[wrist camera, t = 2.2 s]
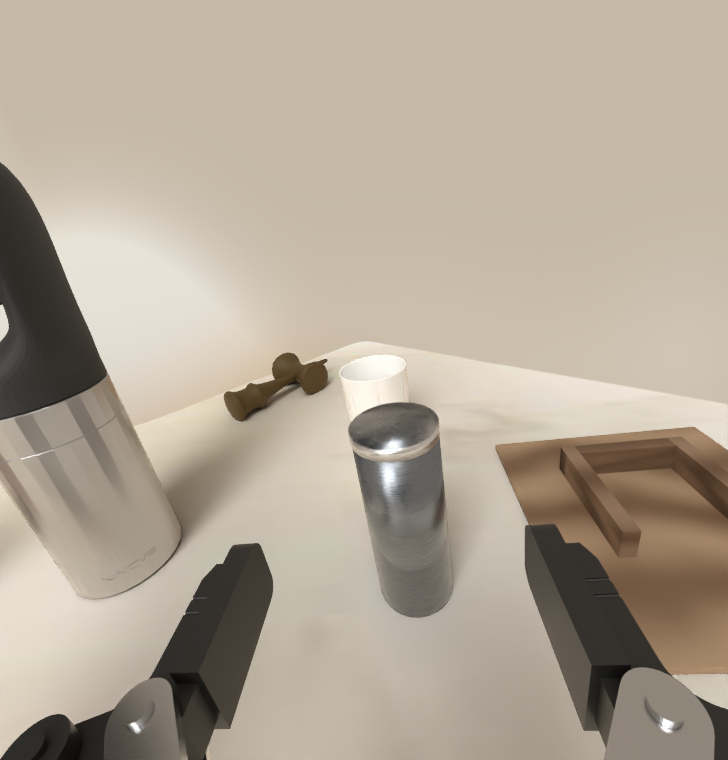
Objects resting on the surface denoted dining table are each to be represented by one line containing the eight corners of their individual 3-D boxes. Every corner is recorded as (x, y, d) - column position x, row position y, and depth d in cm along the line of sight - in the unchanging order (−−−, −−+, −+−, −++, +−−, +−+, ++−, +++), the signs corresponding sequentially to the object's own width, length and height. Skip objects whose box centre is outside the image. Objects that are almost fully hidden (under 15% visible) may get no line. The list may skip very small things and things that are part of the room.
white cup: (357, 425, 50) (344, 358, 46) (414, 421, 49) (406, 351, 45) (349, 461, 43) (332, 384, 39) (416, 456, 42) (406, 377, 38)
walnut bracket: (1023, 669, 18) (1059, 629, 17) (596, 675, 21) (601, 641, 20) (693, 431, 38) (699, 405, 37) (495, 449, 41) (495, 425, 40)
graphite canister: (365, 584, 28) (330, 430, 23) (413, 540, 31) (392, 395, 26) (419, 635, 24) (393, 463, 19) (468, 579, 27) (458, 417, 22)
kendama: (222, 416, 61) (314, 369, 73) (251, 434, 55) (347, 379, 67) (210, 384, 59) (308, 341, 71) (238, 399, 52) (341, 348, 64)
